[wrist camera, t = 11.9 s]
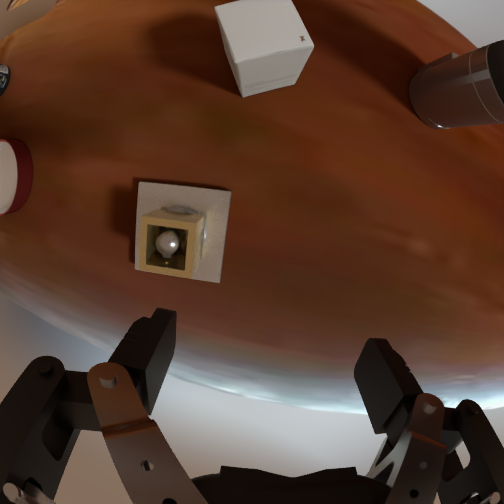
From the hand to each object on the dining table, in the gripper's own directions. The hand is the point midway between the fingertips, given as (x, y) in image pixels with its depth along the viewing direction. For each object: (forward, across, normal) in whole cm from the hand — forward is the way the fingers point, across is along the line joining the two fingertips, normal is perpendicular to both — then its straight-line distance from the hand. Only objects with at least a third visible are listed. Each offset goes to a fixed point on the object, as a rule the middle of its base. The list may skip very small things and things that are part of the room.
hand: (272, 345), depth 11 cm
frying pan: (+26, +54, -3) cm, 60 cm away
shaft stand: (+26, +10, +4) cm, 28 cm away
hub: (+24, +10, +4) cm, 26 cm away
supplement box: (+27, +4, -20) cm, 34 cm away
